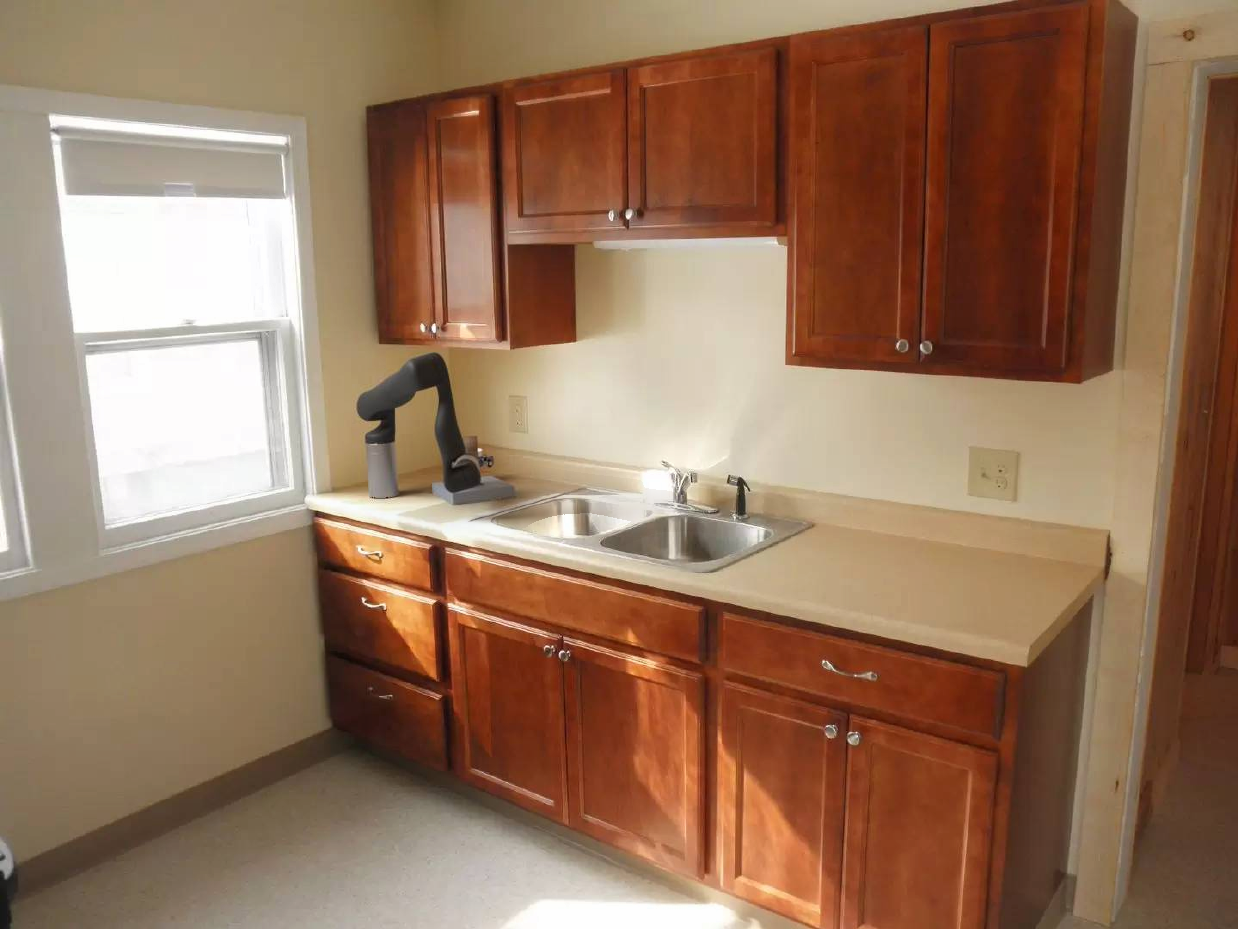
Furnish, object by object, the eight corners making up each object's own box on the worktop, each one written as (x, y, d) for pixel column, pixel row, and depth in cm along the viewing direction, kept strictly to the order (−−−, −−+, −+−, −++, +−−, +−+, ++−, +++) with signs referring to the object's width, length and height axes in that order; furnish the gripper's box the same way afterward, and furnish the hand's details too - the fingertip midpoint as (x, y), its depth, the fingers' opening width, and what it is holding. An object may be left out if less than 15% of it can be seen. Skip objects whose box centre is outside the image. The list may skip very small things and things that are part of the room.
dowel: (463, 493, 324) (460, 436, 321) (477, 491, 326) (474, 435, 323) (468, 495, 320) (465, 438, 317) (482, 493, 322) (479, 437, 319)
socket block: (432, 493, 327) (431, 482, 327) (491, 486, 337) (490, 475, 336) (453, 504, 310) (452, 493, 309) (514, 496, 319) (514, 485, 319)
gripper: (490, 454, 307) (494, 445, 323) (442, 456, 306) (448, 447, 322) (491, 479, 308) (495, 469, 324) (443, 480, 307) (449, 470, 323)
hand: (471, 458), depth 323 cm, fingers open, 8 cm apart
